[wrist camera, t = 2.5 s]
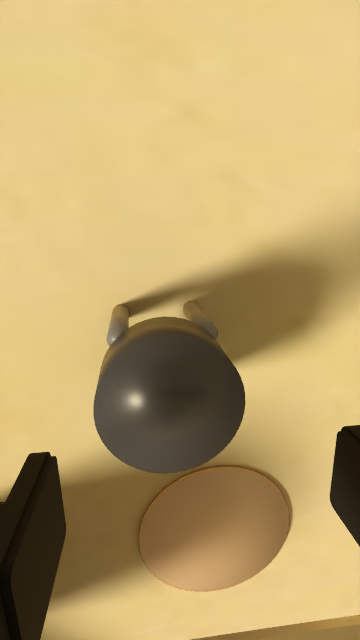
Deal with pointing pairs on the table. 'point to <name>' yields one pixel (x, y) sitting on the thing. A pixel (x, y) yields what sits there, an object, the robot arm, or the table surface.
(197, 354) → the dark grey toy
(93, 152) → the table surface
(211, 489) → the mat
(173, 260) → the table surface
